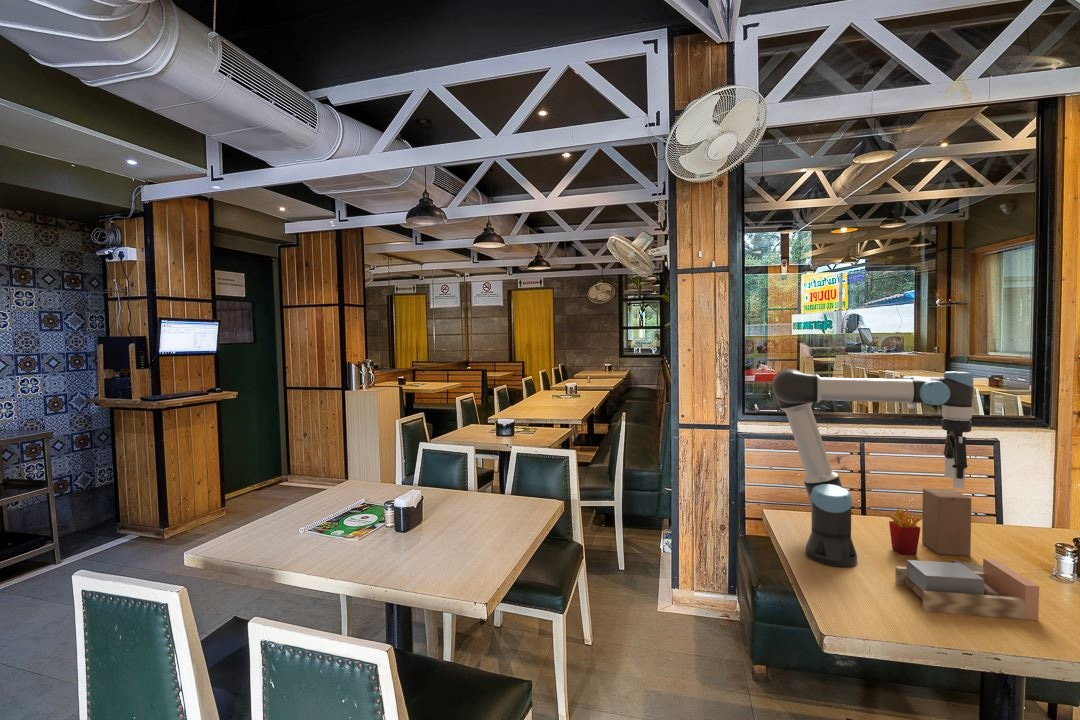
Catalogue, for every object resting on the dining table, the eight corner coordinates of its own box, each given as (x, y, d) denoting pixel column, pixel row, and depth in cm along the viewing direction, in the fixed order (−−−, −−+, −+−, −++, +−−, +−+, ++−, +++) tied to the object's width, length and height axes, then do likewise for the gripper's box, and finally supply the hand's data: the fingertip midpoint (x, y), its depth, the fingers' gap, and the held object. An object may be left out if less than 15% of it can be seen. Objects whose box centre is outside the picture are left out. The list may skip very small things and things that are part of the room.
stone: (1013, 580, 153) (1013, 570, 153) (1017, 591, 147) (1017, 580, 147) (950, 567, 162) (950, 557, 162) (951, 577, 156) (951, 567, 156)
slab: (925, 593, 139) (925, 575, 139) (906, 576, 149) (906, 559, 148) (983, 597, 136) (984, 579, 136) (960, 580, 146) (961, 563, 146)
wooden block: (971, 556, 169) (972, 498, 168) (937, 554, 171) (938, 496, 170) (953, 544, 179) (954, 489, 178) (921, 542, 181) (922, 488, 180)
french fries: (921, 556, 170) (921, 512, 169) (896, 556, 170) (896, 513, 169) (903, 546, 178) (903, 504, 178) (879, 546, 179) (880, 504, 178)
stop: (1024, 619, 132) (1025, 585, 131) (982, 588, 148) (983, 558, 147) (1038, 620, 131) (1039, 586, 131) (994, 589, 147) (995, 559, 147)
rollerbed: (925, 611, 136) (926, 593, 136) (895, 582, 152) (895, 566, 152) (1024, 619, 132) (1025, 600, 131) (982, 588, 148) (983, 571, 148)
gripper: (981, 425, 152) (978, 494, 153) (962, 414, 174) (959, 475, 175) (950, 423, 156) (947, 490, 157) (935, 412, 177) (932, 472, 179)
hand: (953, 482), depth 166 cm, fingers open, 13 cm apart
